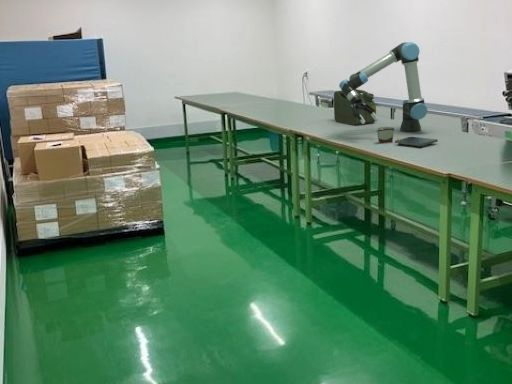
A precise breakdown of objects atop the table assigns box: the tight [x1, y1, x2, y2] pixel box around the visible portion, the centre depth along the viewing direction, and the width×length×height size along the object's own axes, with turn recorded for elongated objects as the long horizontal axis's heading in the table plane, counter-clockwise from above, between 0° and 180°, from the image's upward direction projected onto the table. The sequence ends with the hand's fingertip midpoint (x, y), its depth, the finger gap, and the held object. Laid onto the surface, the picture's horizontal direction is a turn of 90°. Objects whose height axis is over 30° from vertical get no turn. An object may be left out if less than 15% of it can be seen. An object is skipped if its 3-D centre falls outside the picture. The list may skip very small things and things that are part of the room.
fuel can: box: [333, 88, 377, 126], centre depth 452 cm, size 19×35×27 cm, turn 23°
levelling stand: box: [394, 136, 439, 149], centre depth 348 cm, size 18×20×4 cm
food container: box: [376, 126, 395, 145], centre depth 361 cm, size 12×6×10 cm, turn 100°
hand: (370, 121), depth 366 cm, fingers open, 13 cm apart
